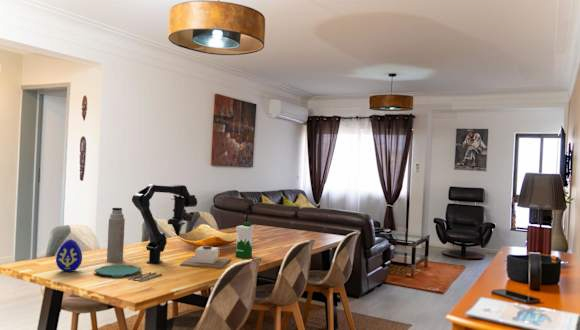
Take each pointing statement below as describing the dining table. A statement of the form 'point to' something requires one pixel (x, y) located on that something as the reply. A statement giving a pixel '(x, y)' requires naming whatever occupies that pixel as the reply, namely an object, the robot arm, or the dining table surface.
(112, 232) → the thermos bottle
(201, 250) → the white block with hole
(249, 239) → the milk carton
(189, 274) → the dining table surface
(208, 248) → the plunger
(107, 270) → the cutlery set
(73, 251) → the ornament
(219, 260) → the board
